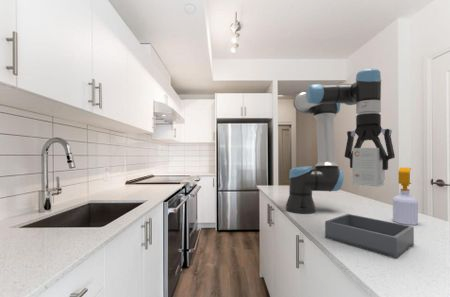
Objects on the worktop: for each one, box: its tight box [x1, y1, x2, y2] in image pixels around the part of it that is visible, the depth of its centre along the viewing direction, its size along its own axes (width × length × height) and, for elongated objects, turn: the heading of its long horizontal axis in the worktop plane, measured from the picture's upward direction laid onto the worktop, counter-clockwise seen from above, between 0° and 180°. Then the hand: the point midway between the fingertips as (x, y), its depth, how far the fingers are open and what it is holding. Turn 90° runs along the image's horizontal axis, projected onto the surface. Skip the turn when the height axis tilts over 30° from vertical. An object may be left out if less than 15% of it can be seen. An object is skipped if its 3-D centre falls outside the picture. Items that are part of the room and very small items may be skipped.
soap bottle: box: [392, 166, 419, 226], centre depth 110 cm, size 9×9×25 cm
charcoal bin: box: [324, 213, 415, 259], centre depth 86 cm, size 22×18×6 cm
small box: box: [352, 147, 385, 187], centre depth 86 cm, size 8×6×13 cm
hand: (368, 178), depth 86 cm, fingers closed on small box, 8 cm apart
